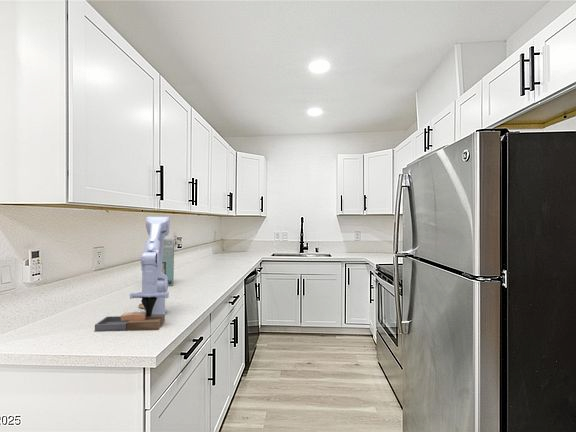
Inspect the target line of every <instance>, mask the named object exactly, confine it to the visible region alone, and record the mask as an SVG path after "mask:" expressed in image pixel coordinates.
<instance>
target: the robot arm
mask: <svg viewBox="0 0 576 432" xmlns="http://www.w3.org/2000/svg"><path fill="white" fill-rule="evenodd" d="M145 218H146V219H145V229H146V232H147V234H148V236H149V238H148V239H147V240H146V241H145V246H144V250H143V252H142V253H141V256H140V265H141V272H142V273H141V274H142V275H141V276H142V277H141V292H131V293H129V299H131V300H132V299H141V300H140V302H141V304H143V306H144V308H143V309H144V312H146V315H147V317H151V315H152V314H165V315H166V313H167V312H168V310H167V309H166V299H168V298H169V297H170V295H169V294H170V293H169V291H168V290H169V286H168V277H167V276H166V275H165V274H164V273H162V259H163V242H164V239H165V237H167V236H169V233H170V226H171V222H170V217H169V216H150V215H149V216H146V217H145ZM157 279H164V280H157Z"/></svg>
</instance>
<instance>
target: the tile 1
mask: <svg viewBox="0 0 576 432" xmlns="http://www.w3.org/2000/svg"><path fill="white" fill-rule="evenodd" d="M136 312H137V311H132V312H131V311H130V312H124V313H123V314H121V315H120V316H121V321H126V320H133V315H134V314H135V313H136Z"/></svg>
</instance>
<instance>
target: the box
mask: <svg viewBox="0 0 576 432" xmlns="http://www.w3.org/2000/svg"><path fill="white" fill-rule="evenodd" d="M128 321H129V320H126V321H121V315H119V316H117V315H115V316H105V317H104V318H103V319H100V321H98V322H97V323H95V324H94V332H126V331H127V322H128Z"/></svg>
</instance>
